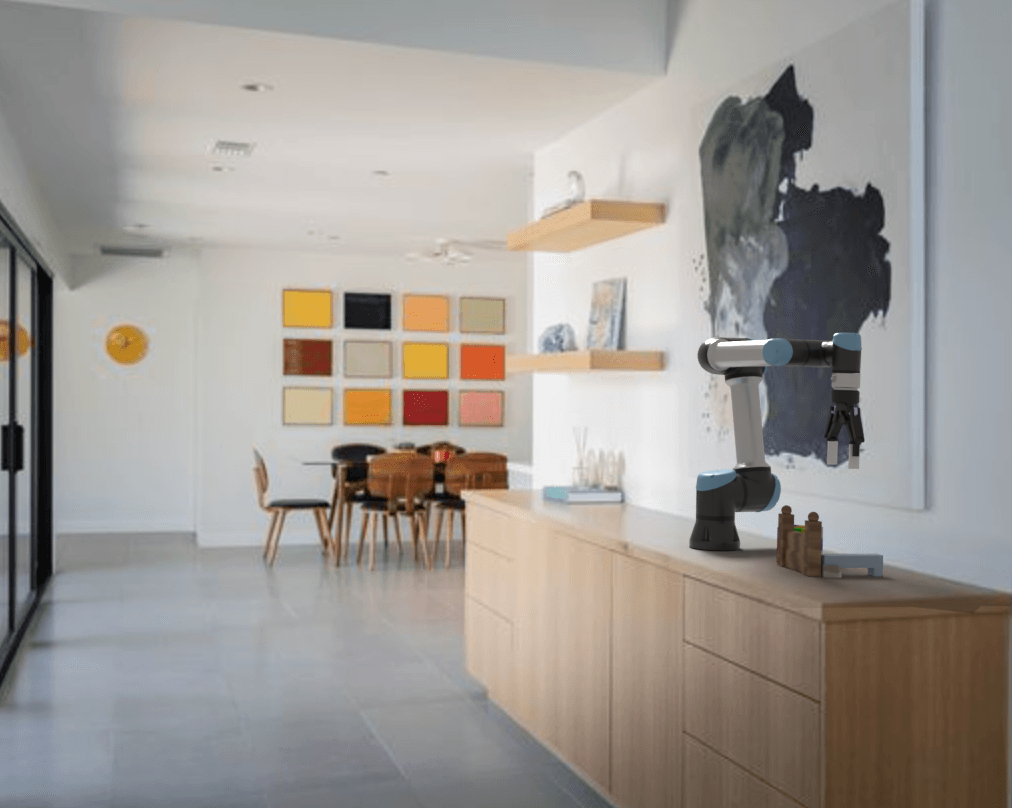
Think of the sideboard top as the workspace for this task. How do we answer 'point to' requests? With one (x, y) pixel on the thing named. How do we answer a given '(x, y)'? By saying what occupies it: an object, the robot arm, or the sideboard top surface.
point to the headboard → (802, 546)
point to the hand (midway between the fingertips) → (842, 466)
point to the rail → (855, 562)
